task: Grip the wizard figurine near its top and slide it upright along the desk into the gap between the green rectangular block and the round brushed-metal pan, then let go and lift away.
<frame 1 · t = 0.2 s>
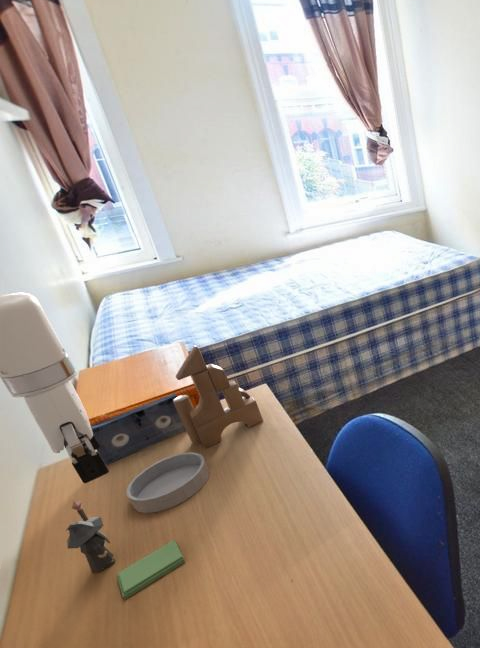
hand: (92, 464, 77), 22 cm above the table, tool pointing down, fingers open, 9 cm apart
vhs cassette tape: (149, 444, 118), on the table
green rectangular block: (152, 570, 83), on the table
wooden toy: (228, 431, 120), on the table
wizard figurine: (102, 563, 86), on the table
metal pan: (172, 487, 103), on the table
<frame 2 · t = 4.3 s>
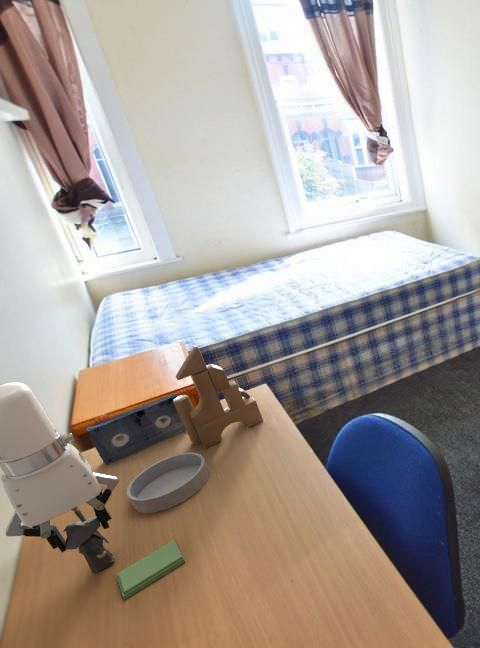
hand: (85, 534, 83), 7 cm above the table, tool pointing down, fingers closed on wizard figurine, 5 cm apart
wizard figurine: (102, 563, 86), on the table, touching gripper
everything else where it was.
when the fingers open (7 cm above the table, at t = 8.7 s): wizard figurine stays where it is, on the table.
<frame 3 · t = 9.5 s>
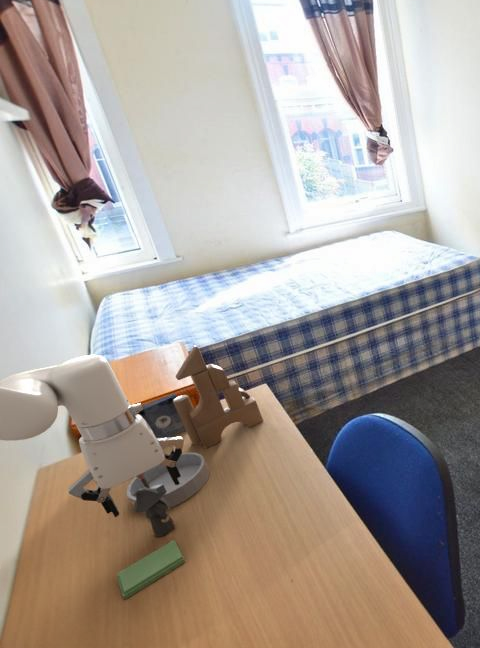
hand: (147, 496, 89), 8 cm above the table, tool pointing down, fingers open, 9 cm apart
wizard figurine: (163, 528, 92), on the table
everything else where it was.
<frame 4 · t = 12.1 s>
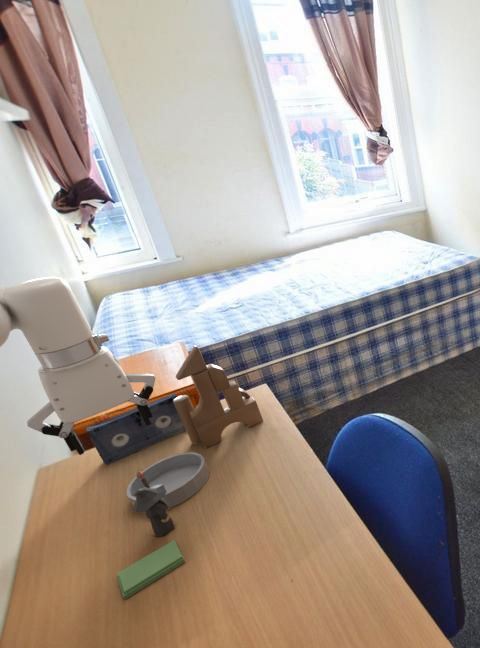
hand: (115, 436, 83), 22 cm above the table, tool pointing down, fingers open, 9 cm apart
nothing on the table moved.
at the end: wizard figurine inside the target area on the table beside the metal pan (0.2 cm from its centre), on the table; wizard figurine 10.7 cm from the green rectangular block (horizontally); wizard figurine tilted 0° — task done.
